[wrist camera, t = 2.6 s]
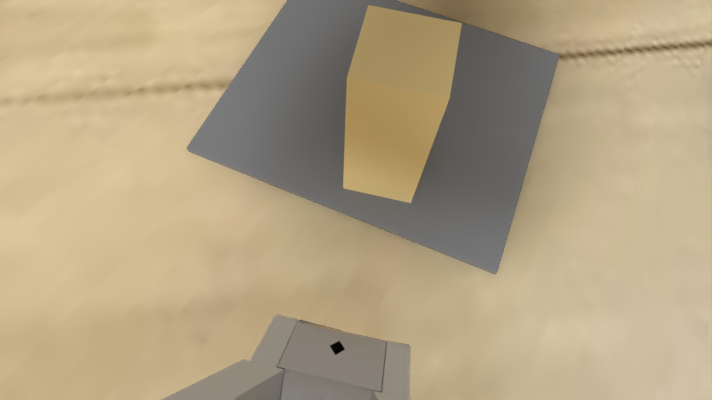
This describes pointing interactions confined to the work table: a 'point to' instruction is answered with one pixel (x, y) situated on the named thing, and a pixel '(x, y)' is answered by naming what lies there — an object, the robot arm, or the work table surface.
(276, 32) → the mat
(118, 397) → the work table surface
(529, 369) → the work table surface
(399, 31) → the block
